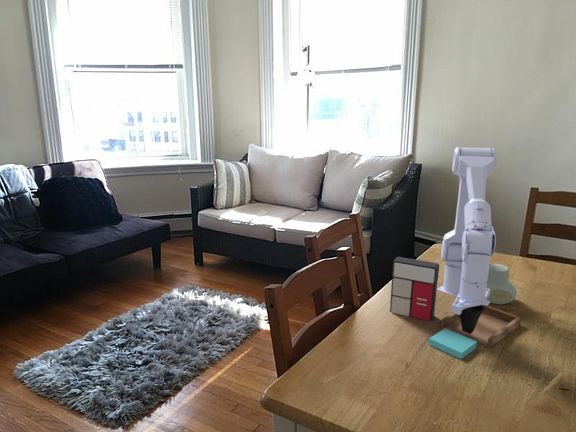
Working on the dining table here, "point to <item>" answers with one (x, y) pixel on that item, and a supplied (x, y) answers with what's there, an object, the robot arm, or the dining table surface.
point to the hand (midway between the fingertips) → (467, 331)
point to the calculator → (414, 288)
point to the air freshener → (500, 285)
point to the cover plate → (452, 343)
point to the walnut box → (485, 326)
